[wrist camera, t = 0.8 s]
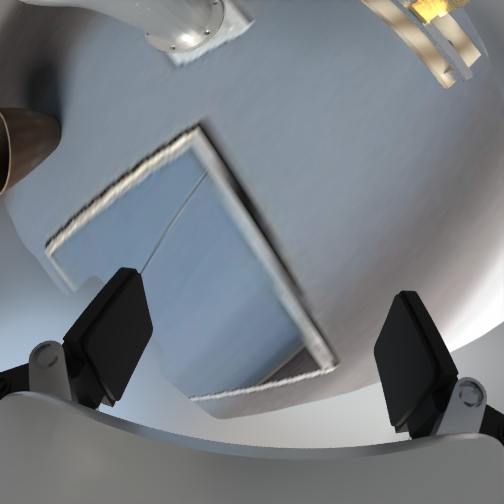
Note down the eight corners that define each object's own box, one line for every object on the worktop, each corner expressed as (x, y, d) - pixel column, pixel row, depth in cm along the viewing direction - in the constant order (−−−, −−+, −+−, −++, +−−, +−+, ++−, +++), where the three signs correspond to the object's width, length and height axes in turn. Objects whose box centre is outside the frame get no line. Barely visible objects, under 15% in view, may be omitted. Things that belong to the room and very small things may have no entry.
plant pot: (64, 181, 44) (7, 211, 30) (23, 157, 42) (-30, 179, 28) (83, 109, 37) (17, 119, 23) (38, 92, 35) (-22, 100, 21)
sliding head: (393, 14, 24) (427, -11, 14) (417, -4, 21) (451, -28, 11) (413, 33, 25) (452, 15, 15) (435, 15, 22) (474, -3, 12)
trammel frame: (342, -24, 22) (361, -63, 11) (368, -40, 20) (391, -76, 9) (450, 82, 28) (499, 80, 17) (469, 62, 25) (517, 57, 14)
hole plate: (334, -19, 24) (336, -24, 23) (376, -46, 19) (378, -50, 18) (444, 88, 30) (449, 88, 28) (476, 55, 25) (481, 54, 23)
